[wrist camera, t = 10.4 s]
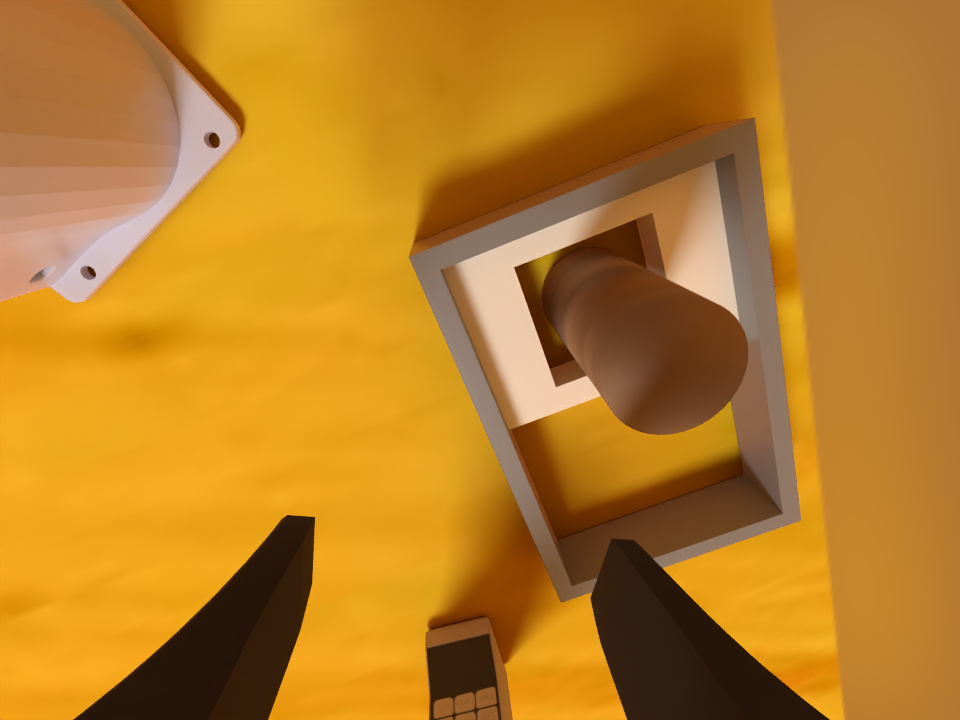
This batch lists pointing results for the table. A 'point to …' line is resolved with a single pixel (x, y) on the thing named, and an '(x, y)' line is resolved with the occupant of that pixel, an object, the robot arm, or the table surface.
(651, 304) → the walnut peg
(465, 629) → the vintage mobile phone
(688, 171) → the grey tray
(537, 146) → the table surface
